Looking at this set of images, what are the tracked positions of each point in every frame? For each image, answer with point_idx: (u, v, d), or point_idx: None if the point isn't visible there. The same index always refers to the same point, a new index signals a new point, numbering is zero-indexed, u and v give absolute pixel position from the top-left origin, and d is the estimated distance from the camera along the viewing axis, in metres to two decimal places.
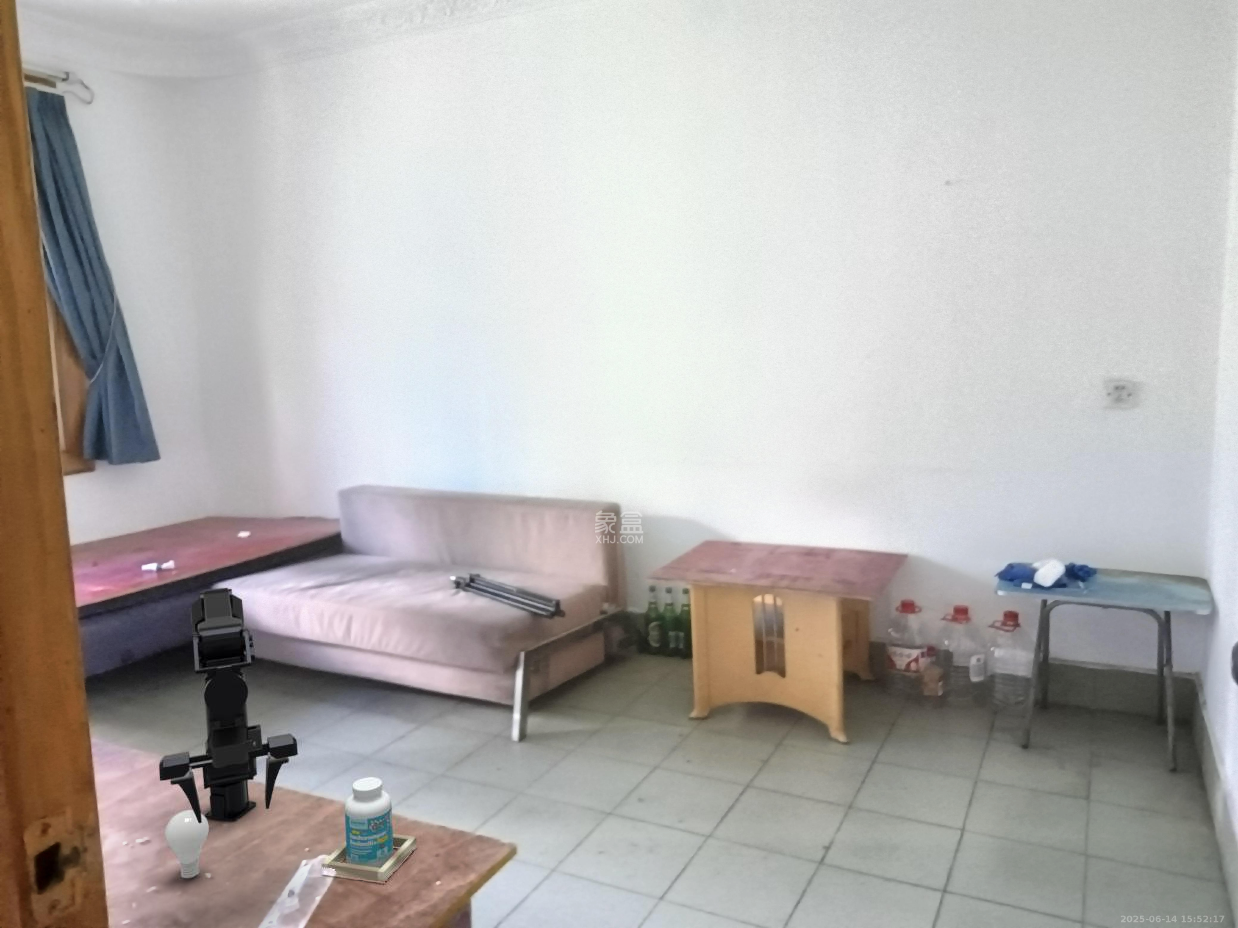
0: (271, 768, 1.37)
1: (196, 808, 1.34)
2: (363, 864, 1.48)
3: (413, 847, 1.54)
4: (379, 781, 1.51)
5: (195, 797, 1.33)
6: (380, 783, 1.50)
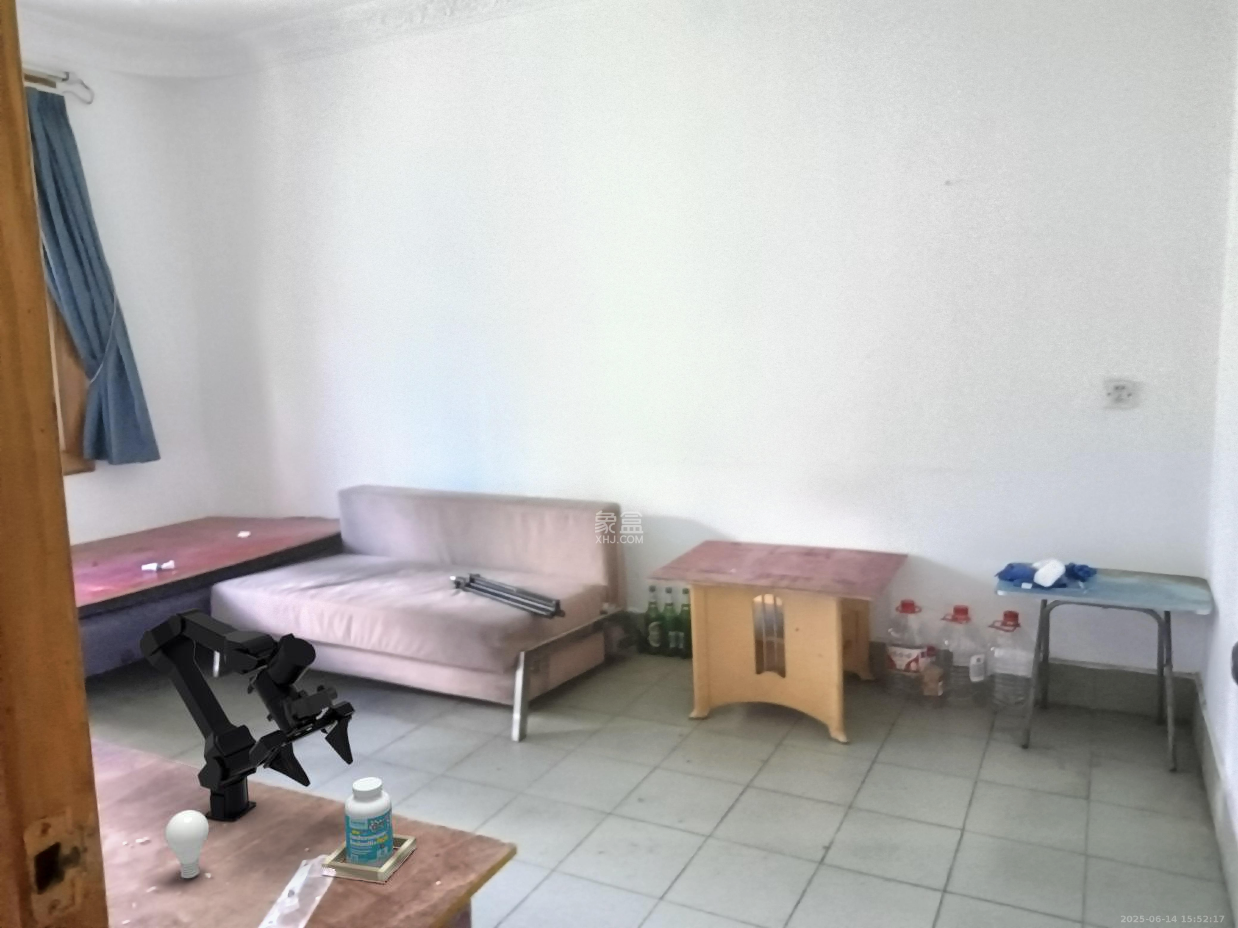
0: (342, 726, 1.59)
1: (302, 771, 1.50)
2: (363, 864, 1.48)
3: (413, 847, 1.54)
4: (379, 781, 1.51)
5: (297, 762, 1.50)
6: (380, 783, 1.50)
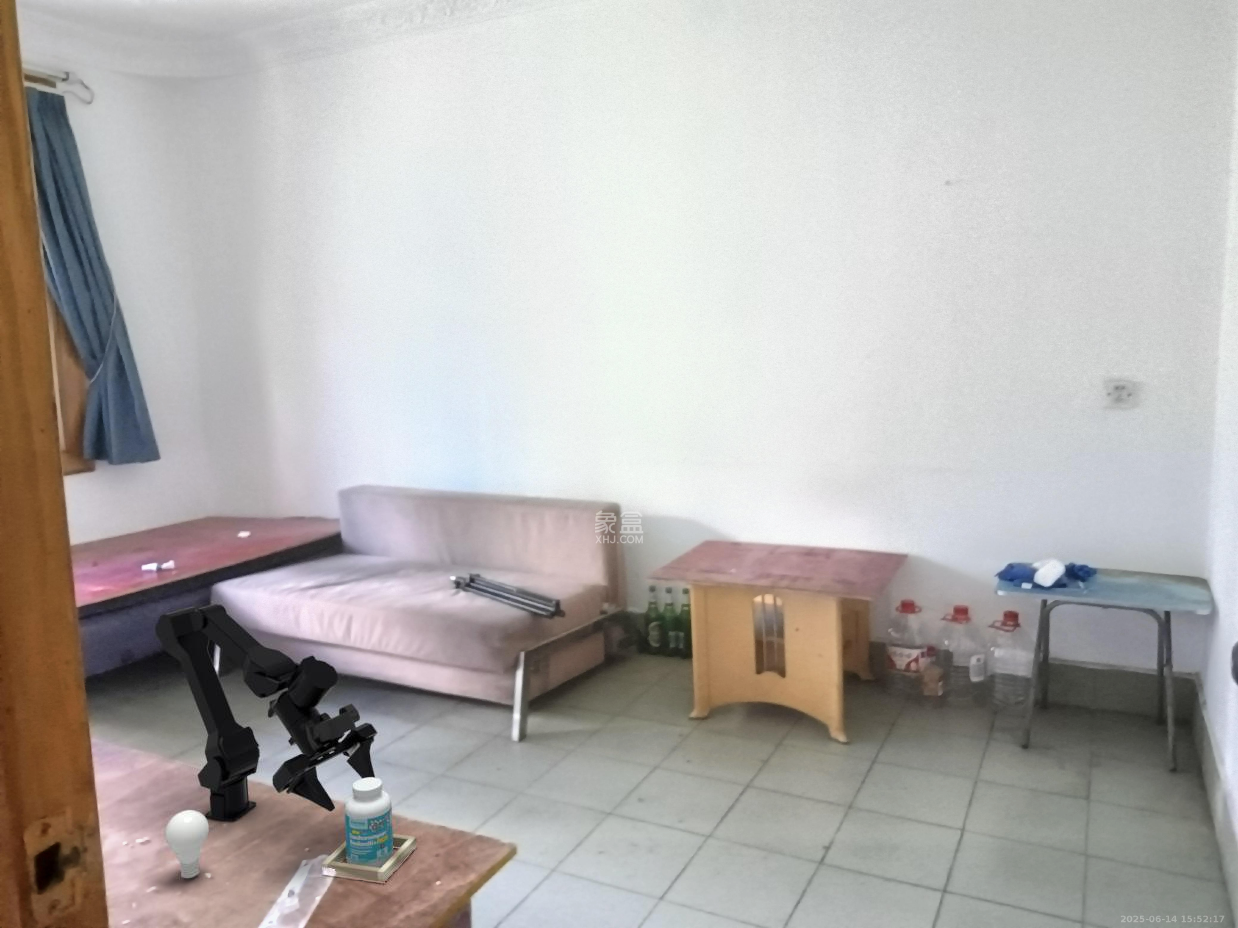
0: (365, 748, 1.57)
1: (326, 795, 1.48)
2: (363, 864, 1.48)
3: (413, 847, 1.54)
4: (379, 781, 1.51)
5: (321, 786, 1.48)
6: (380, 783, 1.50)
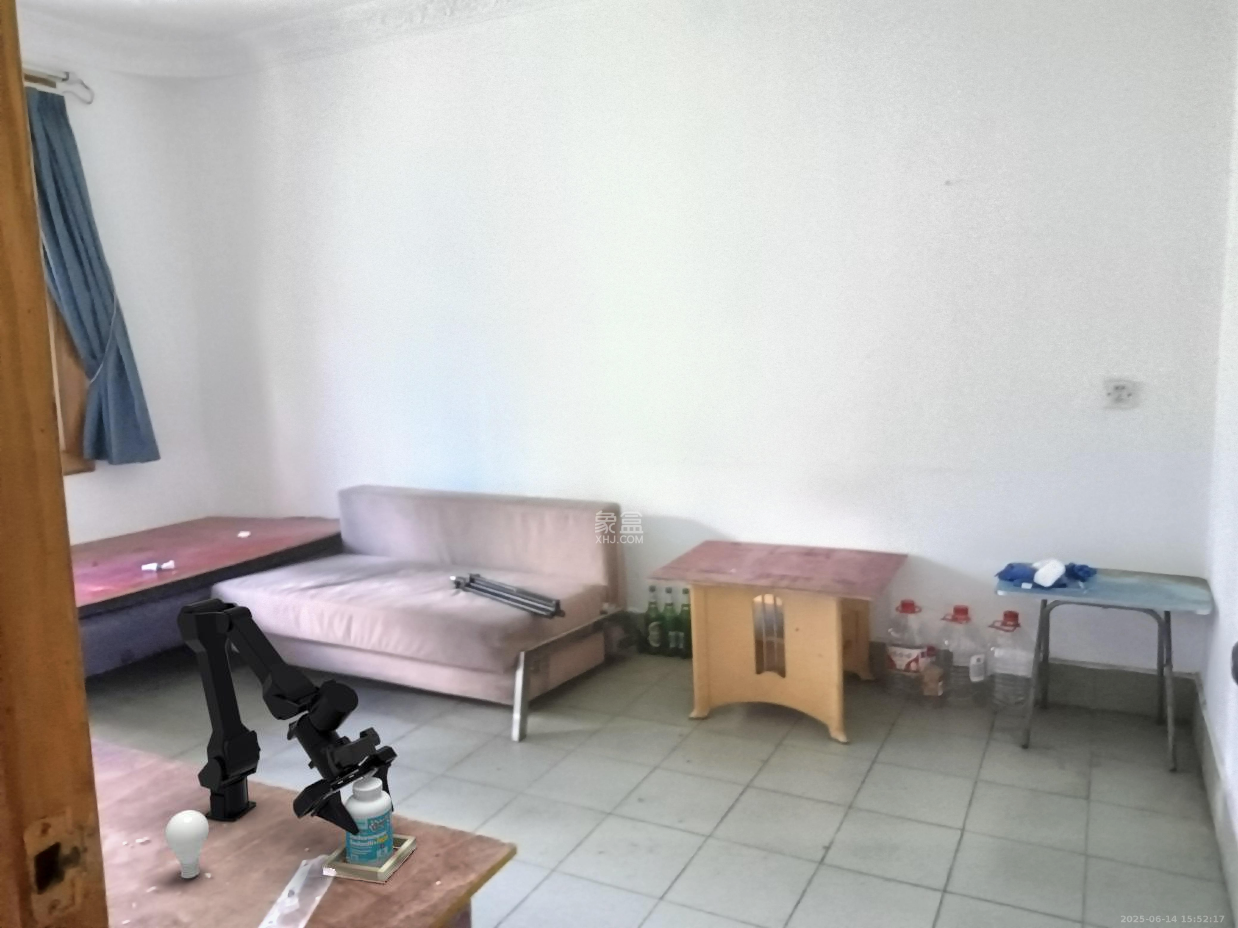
0: (382, 774, 1.55)
1: (350, 819, 1.47)
2: (363, 864, 1.48)
3: (413, 847, 1.54)
4: (379, 781, 1.51)
5: (346, 810, 1.47)
6: (380, 783, 1.50)
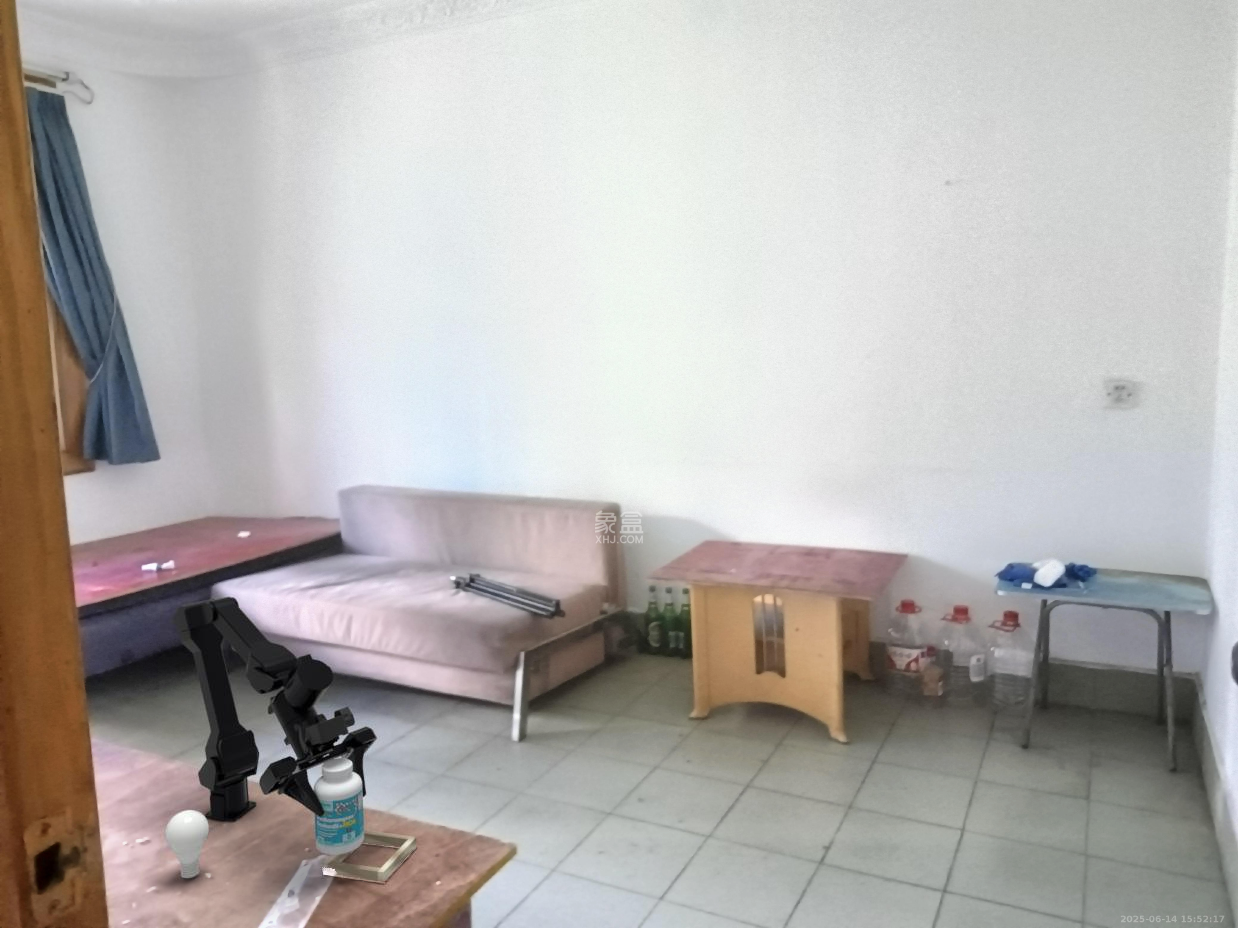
0: (357, 755, 1.50)
1: (315, 800, 1.42)
2: (329, 847, 1.43)
3: (413, 847, 1.54)
4: (349, 763, 1.46)
5: (312, 790, 1.43)
6: (350, 765, 1.45)
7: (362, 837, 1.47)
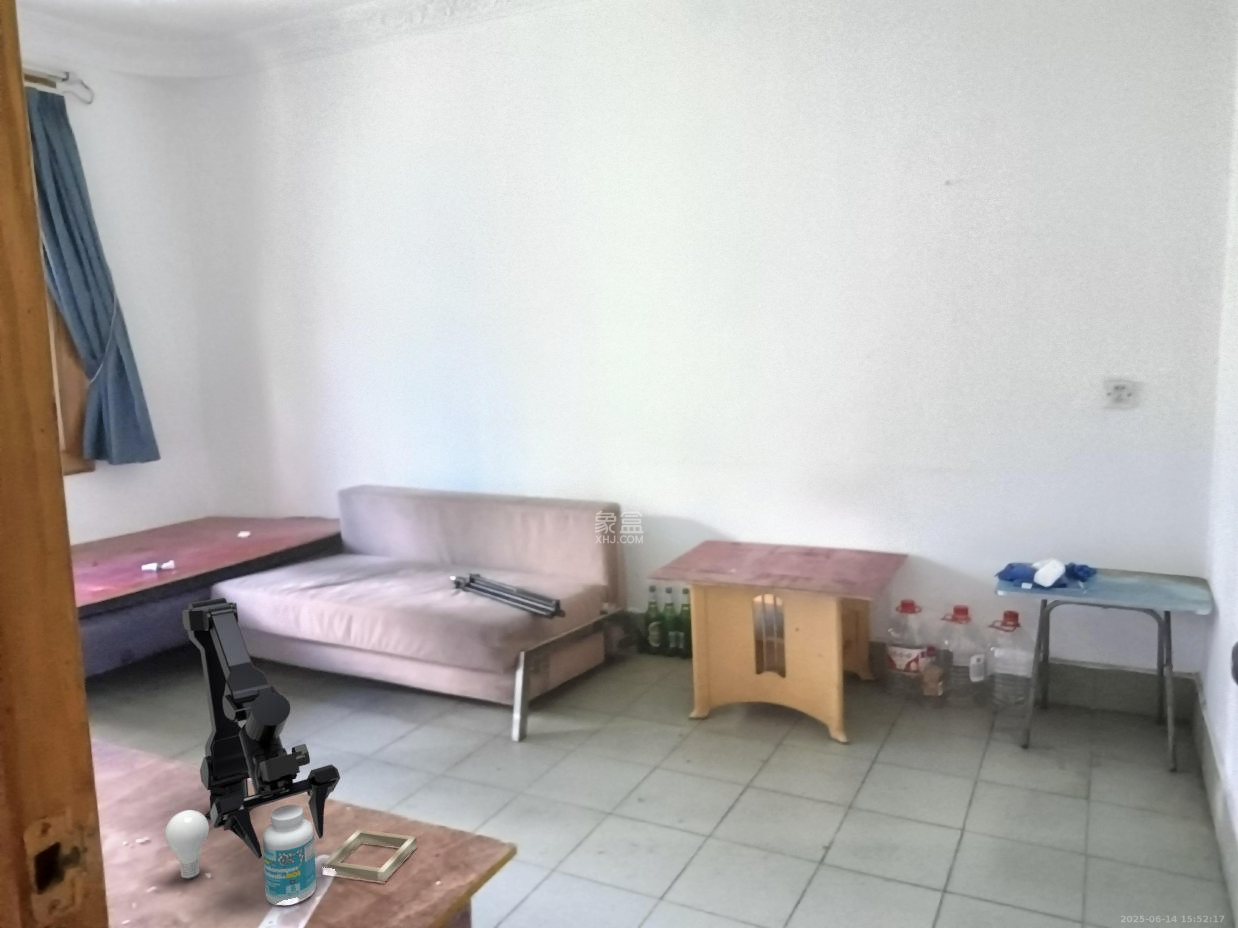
0: (319, 794, 1.45)
1: (254, 841, 1.38)
2: (273, 897, 1.39)
3: (413, 847, 1.54)
4: (299, 811, 1.41)
5: (252, 830, 1.38)
6: (298, 814, 1.40)
7: (310, 890, 1.41)
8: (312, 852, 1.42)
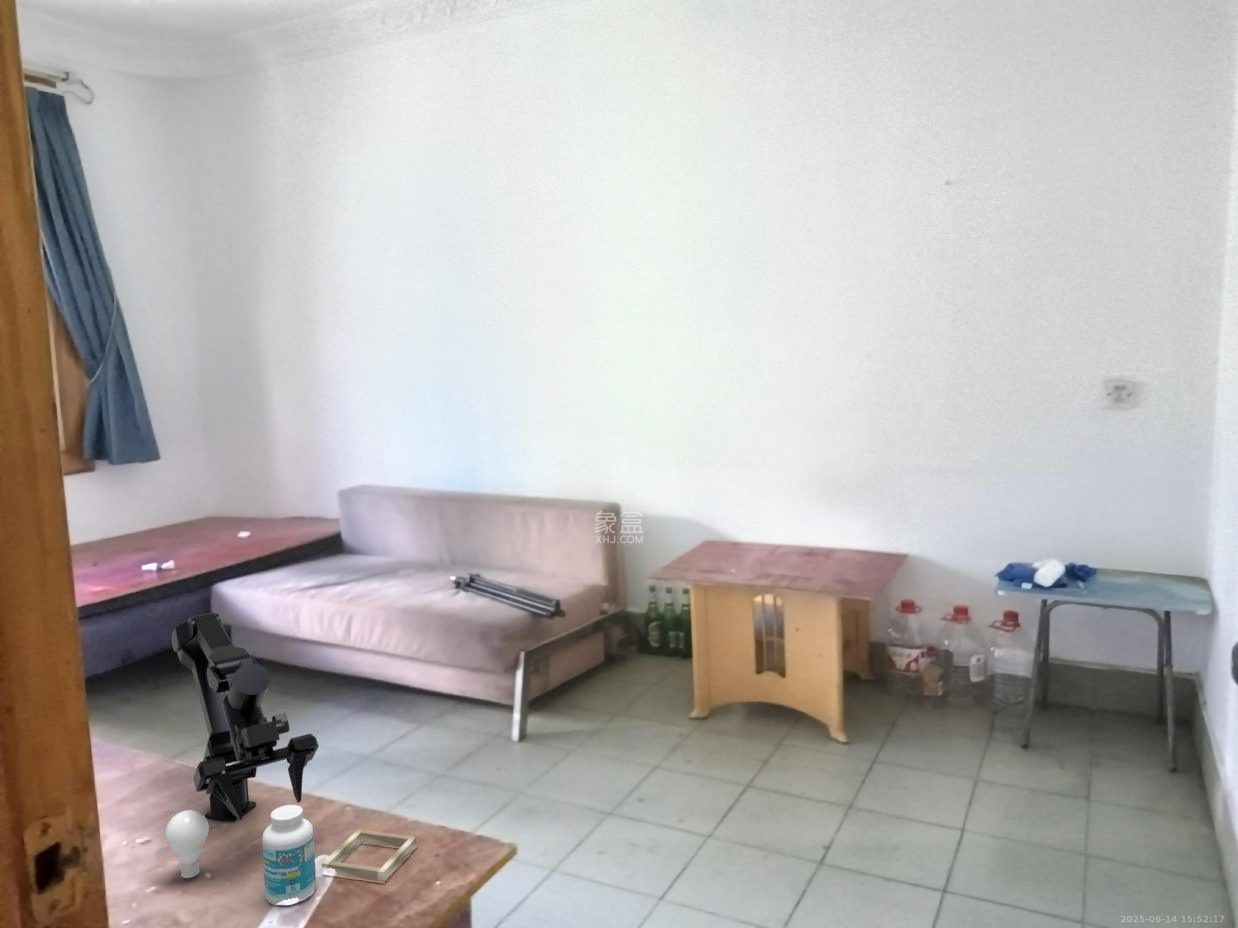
0: (297, 761, 1.52)
1: (235, 804, 1.45)
2: (273, 897, 1.39)
3: (413, 847, 1.54)
4: (299, 811, 1.41)
5: (233, 793, 1.46)
6: (298, 814, 1.40)
7: (310, 890, 1.41)
8: (312, 852, 1.42)
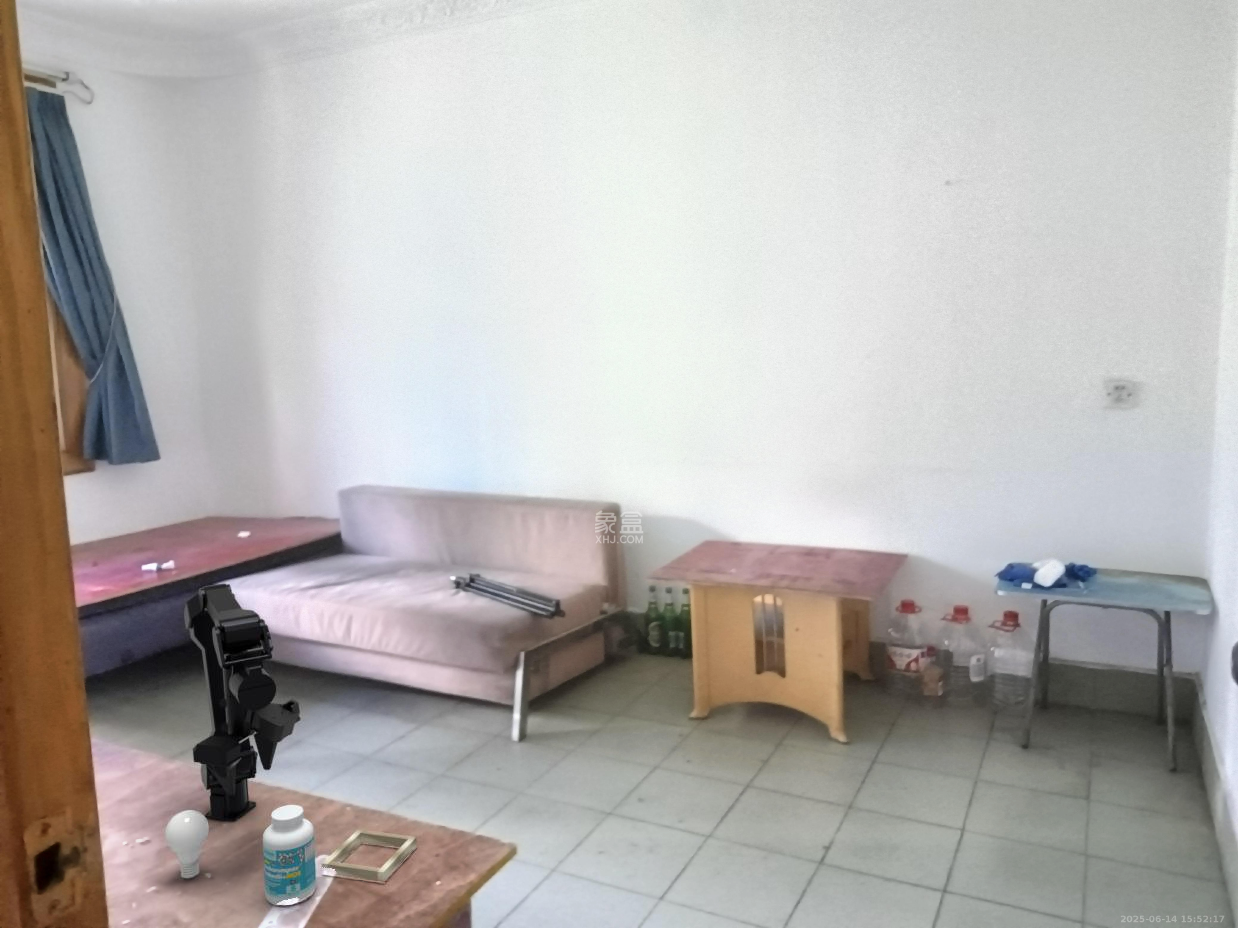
0: None
1: (233, 782, 1.47)
2: (273, 897, 1.39)
3: (413, 847, 1.54)
4: (300, 811, 1.41)
5: (234, 773, 1.47)
6: (298, 814, 1.40)
7: (311, 890, 1.41)
8: (312, 852, 1.42)
